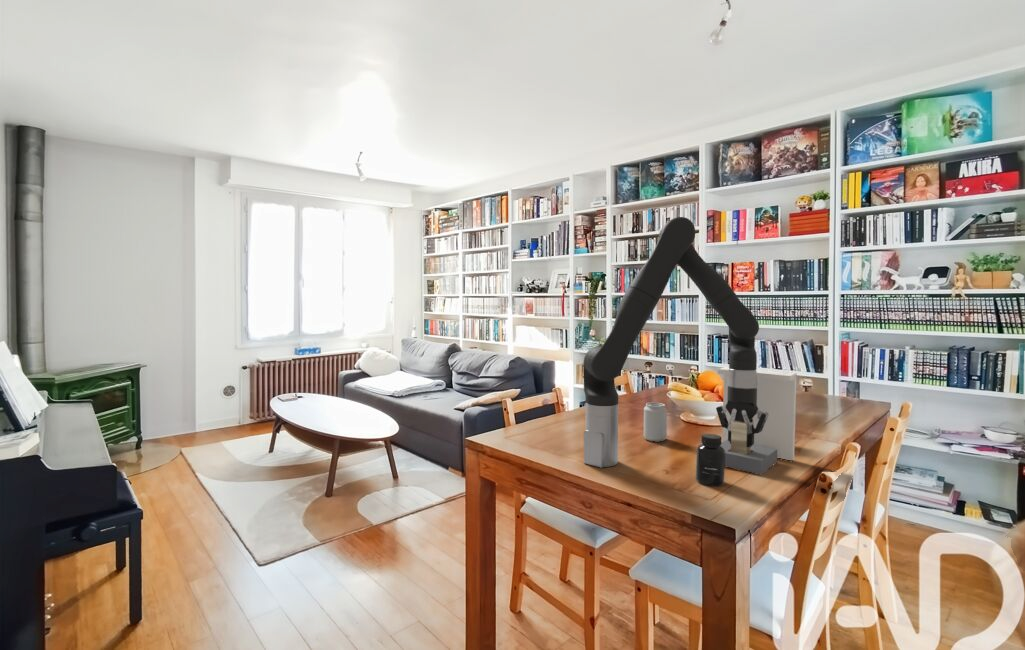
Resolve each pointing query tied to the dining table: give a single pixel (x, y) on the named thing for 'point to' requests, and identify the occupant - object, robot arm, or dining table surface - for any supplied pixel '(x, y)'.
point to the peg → (739, 437)
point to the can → (655, 422)
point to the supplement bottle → (710, 461)
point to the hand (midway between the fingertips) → (740, 444)
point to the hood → (772, 410)
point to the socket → (750, 458)
